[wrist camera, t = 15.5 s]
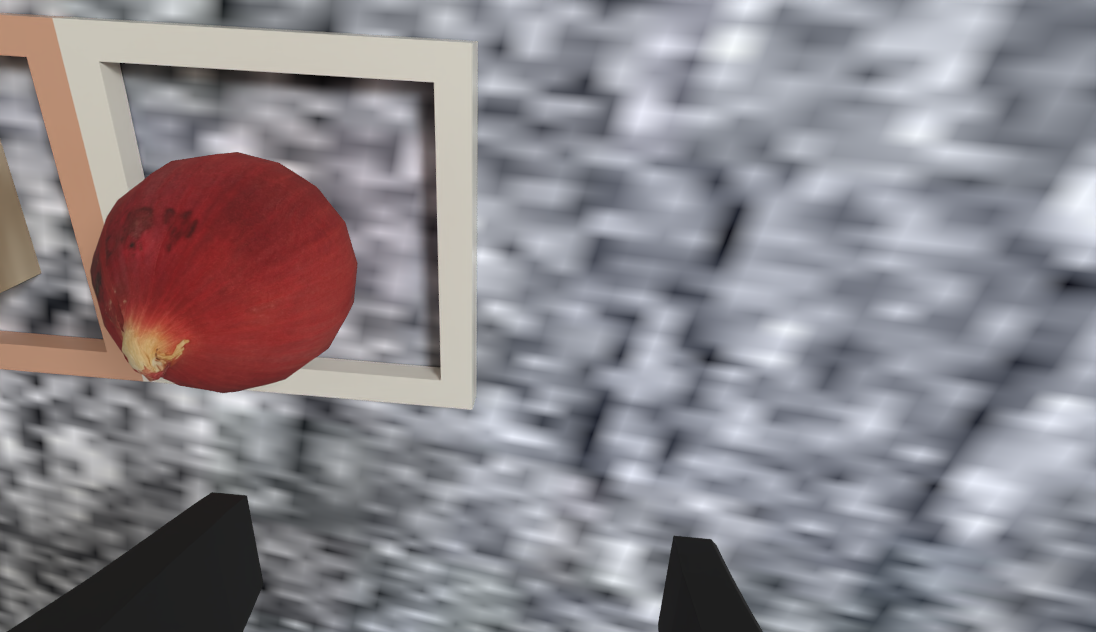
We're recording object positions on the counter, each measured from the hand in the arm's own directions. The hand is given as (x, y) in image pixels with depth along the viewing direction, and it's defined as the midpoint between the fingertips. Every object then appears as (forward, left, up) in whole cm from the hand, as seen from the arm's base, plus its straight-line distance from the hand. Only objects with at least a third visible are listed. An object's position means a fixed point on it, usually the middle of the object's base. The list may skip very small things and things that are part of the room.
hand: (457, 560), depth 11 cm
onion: (+2, +7, -11) cm, 13 cm away
